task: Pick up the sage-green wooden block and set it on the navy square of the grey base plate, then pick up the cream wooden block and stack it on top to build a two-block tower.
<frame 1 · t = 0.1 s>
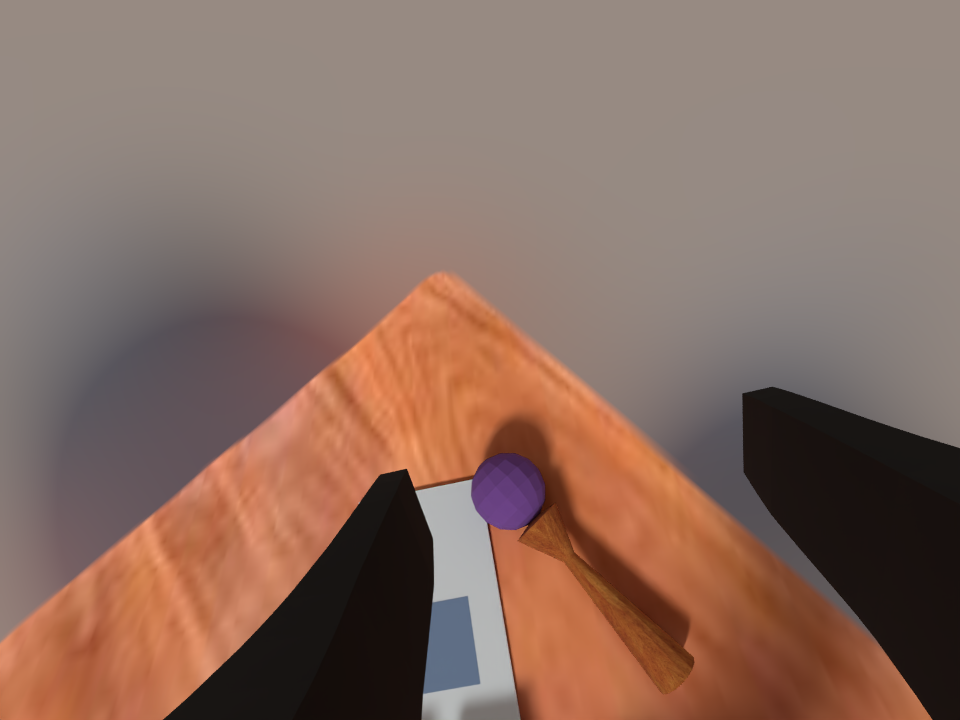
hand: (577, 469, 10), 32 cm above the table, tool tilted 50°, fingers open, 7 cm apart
kendama: (571, 560, 39), on the table, touching grey base plate
grey base plate: (432, 602, 39), on the table
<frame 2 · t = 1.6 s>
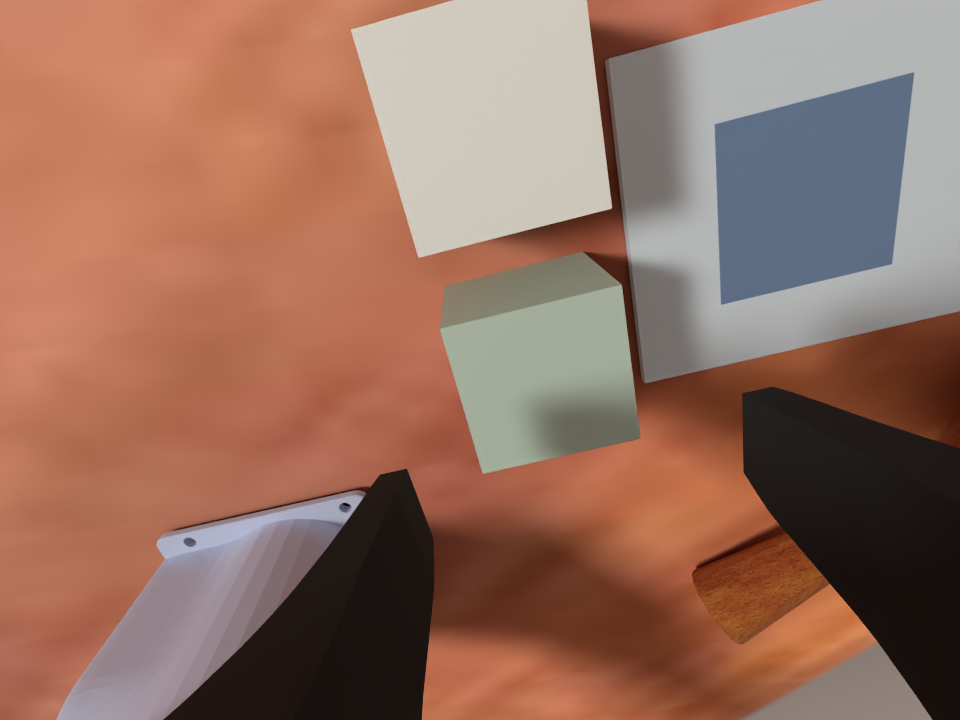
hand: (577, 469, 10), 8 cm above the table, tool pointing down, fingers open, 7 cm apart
block base: (526, 332, 18), on the table
kendama: (882, 447, 21), on the table, touching grey base plate
grey base plate: (891, 174, 16), on the table
block top: (482, 131, 15), on the table
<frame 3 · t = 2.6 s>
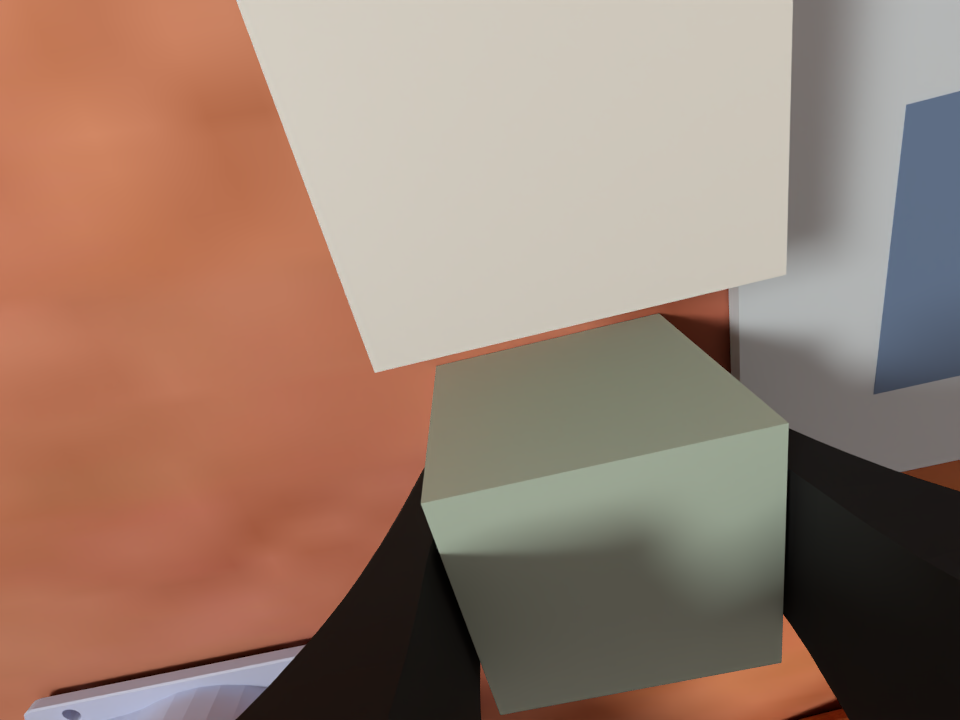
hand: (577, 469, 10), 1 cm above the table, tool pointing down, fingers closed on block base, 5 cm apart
block base: (564, 433, 12), on the table, touching gripper
block top: (500, 118, 9), on the table
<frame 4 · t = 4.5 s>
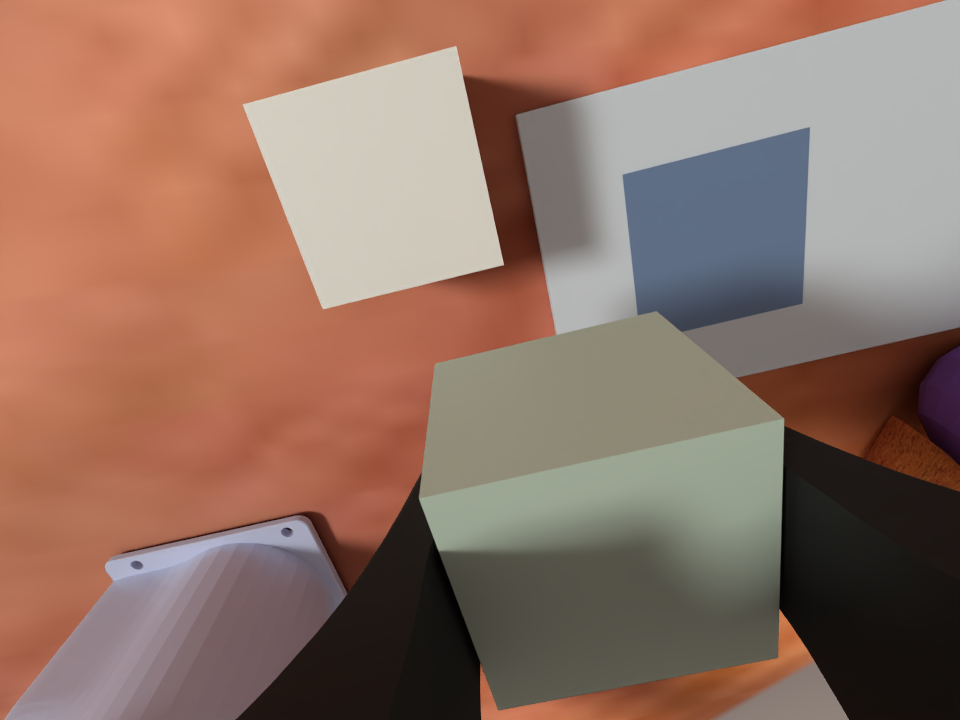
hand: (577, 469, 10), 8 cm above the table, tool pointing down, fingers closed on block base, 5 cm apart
block base: (562, 430, 12), point 7 cm above the table, touching gripper
kendama: (802, 473, 22), on the table
grey base plate: (798, 220, 17), on the table
block top: (402, 179, 16), on the table
when the fingers open (3 cm above the table, at t = 6.6 s): block base stays where it is, resting on grey base plate.
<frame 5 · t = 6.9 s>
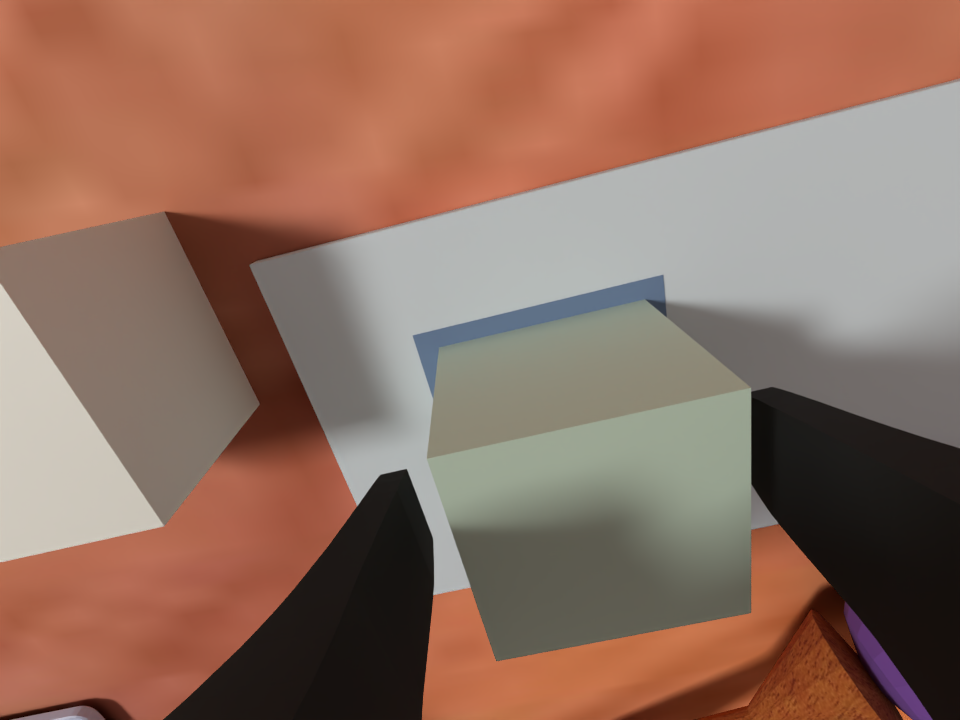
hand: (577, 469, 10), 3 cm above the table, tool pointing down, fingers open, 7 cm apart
block base: (557, 412, 12), resting on grey base plate
kendama: (712, 650, 18), on the table
grey base plate: (666, 379, 13), on the table
block top: (123, 338, 12), on the table
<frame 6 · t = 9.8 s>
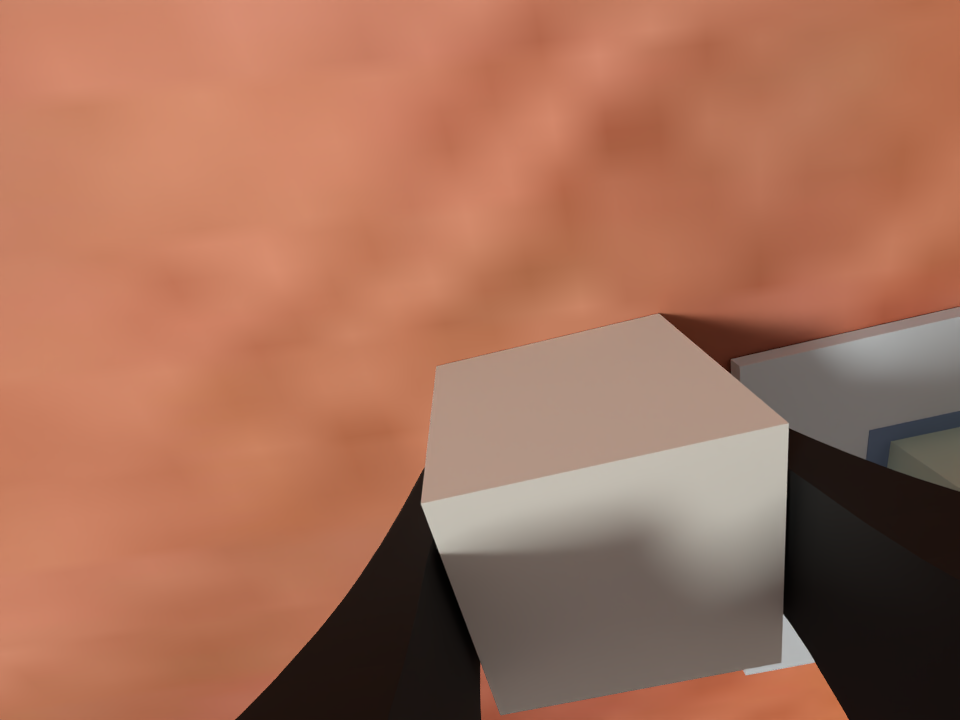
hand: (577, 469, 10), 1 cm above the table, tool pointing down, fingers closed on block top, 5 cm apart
block top: (564, 433, 12), on the table, touching gripper
when the fingers open (7 cm above the table, at t = 13.6 s): block top stays where it is, resting on block base.
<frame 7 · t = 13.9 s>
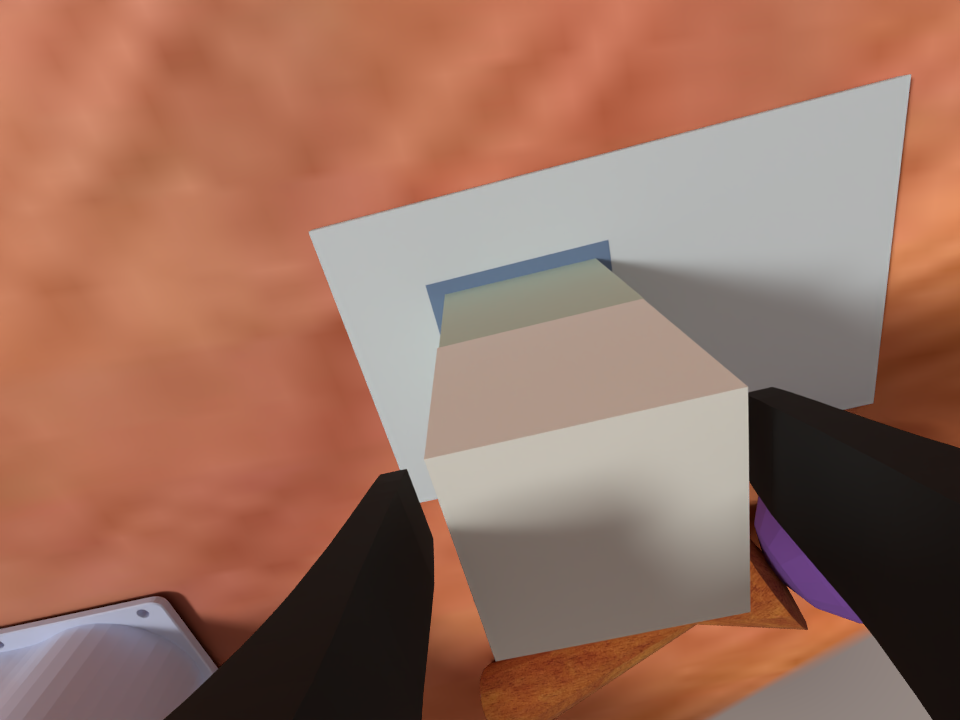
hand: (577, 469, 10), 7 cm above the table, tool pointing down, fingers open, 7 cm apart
block base: (533, 345, 16), resting on grey base plate, touching block top
kendama: (658, 563, 22), on the table
grey base plate: (615, 322, 17), on the table
block top: (556, 411, 12), point 5 cm above the table, touching block base
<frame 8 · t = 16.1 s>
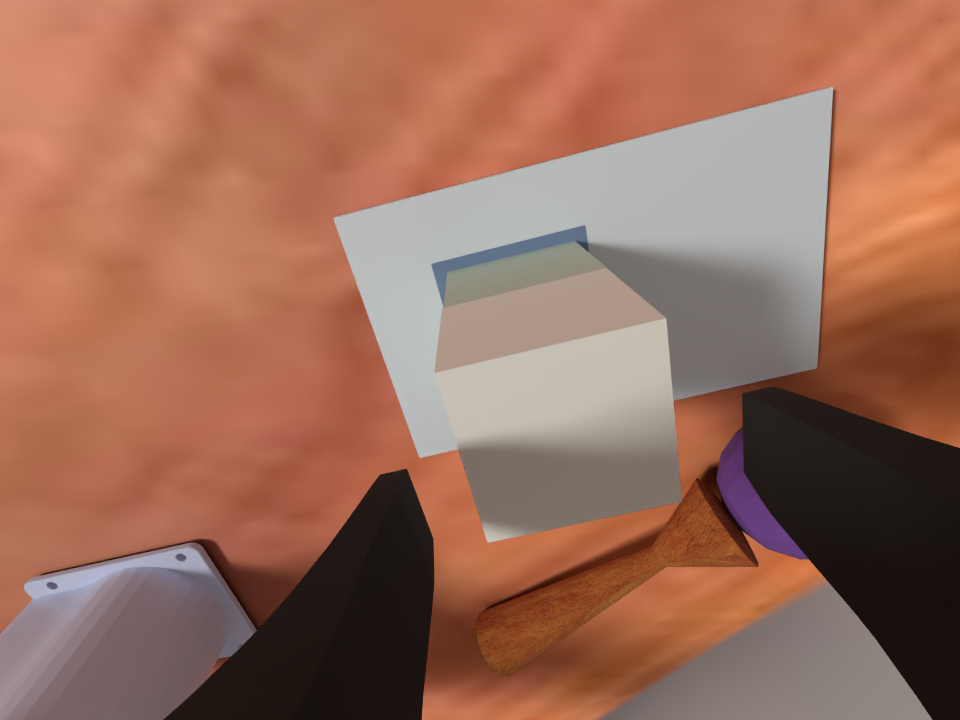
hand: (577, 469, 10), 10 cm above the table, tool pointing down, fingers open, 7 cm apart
block base: (523, 316, 19), resting on grey base plate, touching block top
kendama: (635, 519, 25), on the table
grey base plate: (593, 296, 20), on the table
block top: (538, 362, 15), point 5 cm above the table, touching block base
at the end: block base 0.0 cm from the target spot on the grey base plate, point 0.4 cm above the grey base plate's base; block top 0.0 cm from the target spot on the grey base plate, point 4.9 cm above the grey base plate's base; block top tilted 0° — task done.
